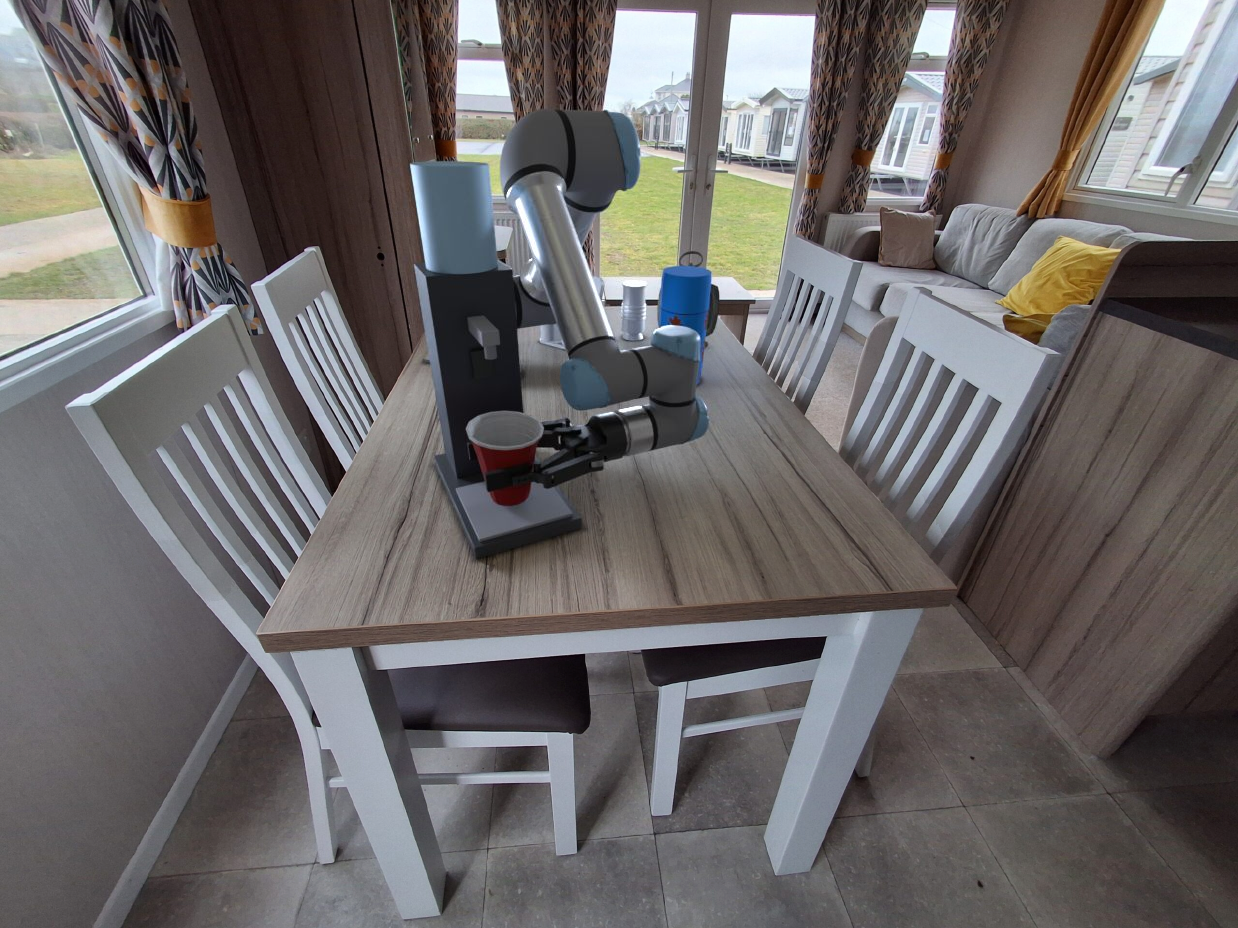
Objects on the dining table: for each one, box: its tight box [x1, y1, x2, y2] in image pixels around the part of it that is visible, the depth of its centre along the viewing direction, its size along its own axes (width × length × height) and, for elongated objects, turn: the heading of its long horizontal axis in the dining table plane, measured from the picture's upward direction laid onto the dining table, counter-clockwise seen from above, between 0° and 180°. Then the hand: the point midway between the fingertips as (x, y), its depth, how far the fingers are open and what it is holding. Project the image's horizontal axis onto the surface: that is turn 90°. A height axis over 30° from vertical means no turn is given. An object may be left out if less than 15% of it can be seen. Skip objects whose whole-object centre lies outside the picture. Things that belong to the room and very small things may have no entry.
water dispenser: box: [409, 160, 583, 560], centre depth 79 cm, size 28×16×47 cm, turn 27°
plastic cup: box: [466, 411, 544, 506], centre depth 82 cm, size 11×11×12 cm
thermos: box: [658, 265, 712, 385], centre depth 127 cm, size 11×11×25 cm
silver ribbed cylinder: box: [620, 279, 648, 342], centre depth 155 cm, size 7×7×15 cm
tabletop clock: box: [656, 250, 721, 348], centre depth 147 cm, size 14×9×25 cm, turn 114°
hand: (477, 466), depth 79 cm, fingers closed on plastic cup, 9 cm apart
